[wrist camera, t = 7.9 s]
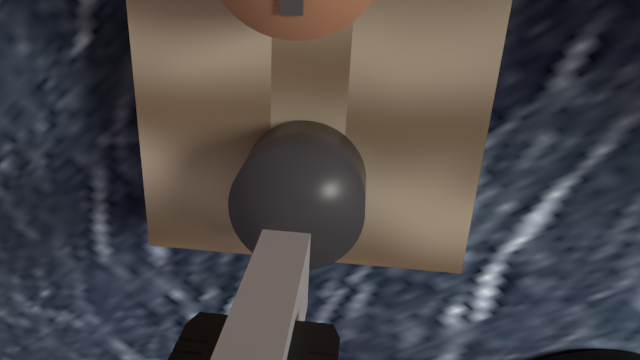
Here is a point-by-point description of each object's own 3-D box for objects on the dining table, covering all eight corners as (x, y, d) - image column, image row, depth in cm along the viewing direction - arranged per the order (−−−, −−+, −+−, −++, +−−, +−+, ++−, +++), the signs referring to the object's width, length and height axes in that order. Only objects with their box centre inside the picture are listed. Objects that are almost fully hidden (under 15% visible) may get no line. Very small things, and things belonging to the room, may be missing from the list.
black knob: (362, 195, 27) (359, 275, 20) (263, 187, 27) (229, 264, 21) (371, 97, 25) (370, 153, 18) (264, 90, 25) (226, 141, 19)
